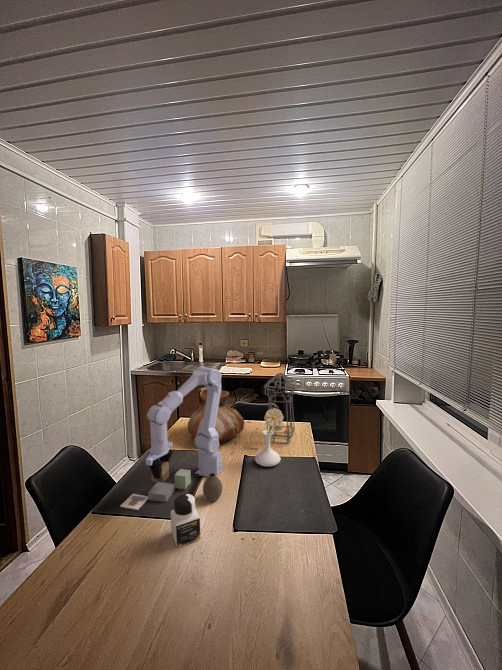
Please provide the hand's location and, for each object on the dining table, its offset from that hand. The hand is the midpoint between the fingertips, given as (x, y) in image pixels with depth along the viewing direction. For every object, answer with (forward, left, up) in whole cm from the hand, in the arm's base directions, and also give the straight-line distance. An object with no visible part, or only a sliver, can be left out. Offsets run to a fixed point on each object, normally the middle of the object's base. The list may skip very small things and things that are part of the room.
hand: (160, 474), depth 110 cm
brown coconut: (-19, -3, -8) cm, 21 cm away
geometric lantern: (-35, -57, -8) cm, 67 cm away
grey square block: (0, 0, -8) cm, 8 cm away
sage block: (-5, -7, -8) cm, 12 cm away
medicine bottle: (-18, +16, -8) cm, 25 cm away
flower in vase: (-34, -32, -8) cm, 47 cm away
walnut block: (0, 0, -2) cm, 2 cm away
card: (+7, +6, -8) cm, 12 cm away
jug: (-1, -52, -8) cm, 53 cm away
